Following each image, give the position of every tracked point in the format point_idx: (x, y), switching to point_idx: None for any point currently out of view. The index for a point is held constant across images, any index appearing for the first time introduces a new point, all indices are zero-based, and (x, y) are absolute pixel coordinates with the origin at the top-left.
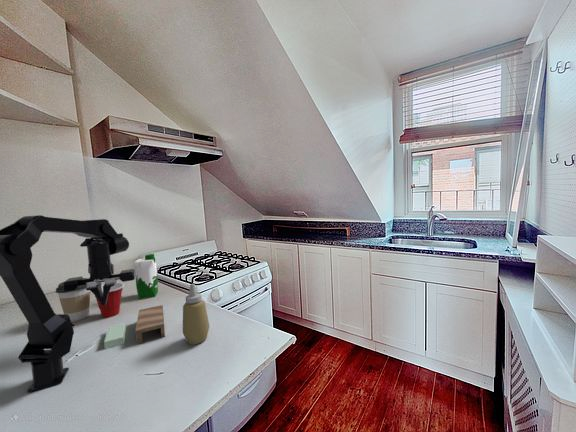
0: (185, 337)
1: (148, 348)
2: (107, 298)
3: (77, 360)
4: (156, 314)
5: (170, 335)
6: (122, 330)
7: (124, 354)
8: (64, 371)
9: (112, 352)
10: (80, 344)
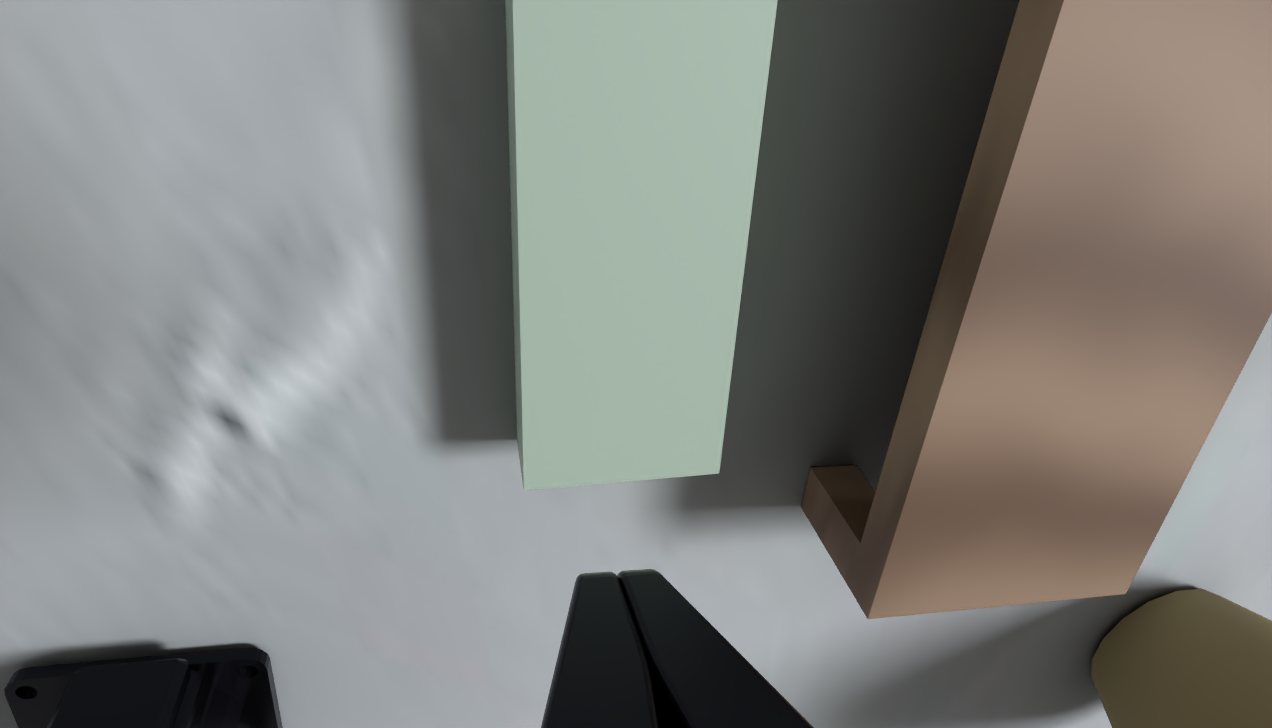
0: (1114, 716)
1: None
2: (762, 686)
3: (285, 531)
4: (1207, 289)
5: None
6: (721, 277)
7: None
8: (252, 703)
9: (597, 538)
10: (136, 118)
